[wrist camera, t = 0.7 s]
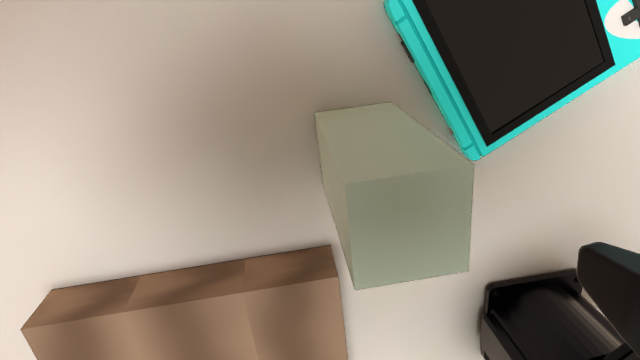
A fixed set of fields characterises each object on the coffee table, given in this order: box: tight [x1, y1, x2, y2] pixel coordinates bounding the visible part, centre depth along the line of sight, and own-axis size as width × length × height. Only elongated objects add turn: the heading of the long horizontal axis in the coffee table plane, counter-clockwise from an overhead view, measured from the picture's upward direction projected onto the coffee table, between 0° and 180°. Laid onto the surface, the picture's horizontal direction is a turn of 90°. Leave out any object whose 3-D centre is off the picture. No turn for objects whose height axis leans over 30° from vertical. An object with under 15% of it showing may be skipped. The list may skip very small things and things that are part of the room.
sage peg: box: [314, 102, 474, 290], centre depth 17 cm, size 4×4×9 cm
